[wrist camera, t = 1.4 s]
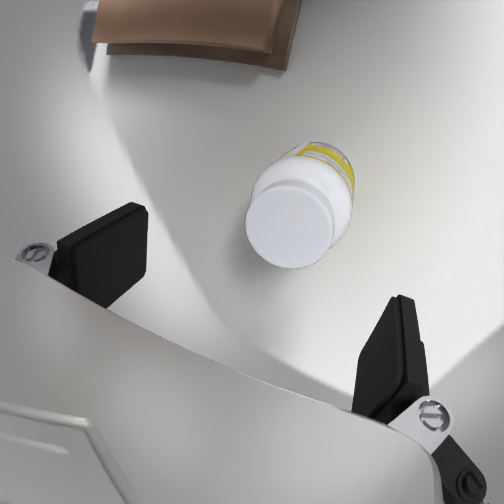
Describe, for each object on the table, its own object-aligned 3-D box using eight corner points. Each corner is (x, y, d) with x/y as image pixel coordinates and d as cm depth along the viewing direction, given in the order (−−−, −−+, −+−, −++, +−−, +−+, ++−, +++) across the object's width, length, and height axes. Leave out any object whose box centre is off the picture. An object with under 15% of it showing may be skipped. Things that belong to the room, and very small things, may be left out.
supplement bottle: (292, 219, 24) (249, 288, 16) (272, 150, 22) (212, 184, 14) (362, 207, 22) (358, 275, 14) (344, 133, 20) (331, 155, 12)
